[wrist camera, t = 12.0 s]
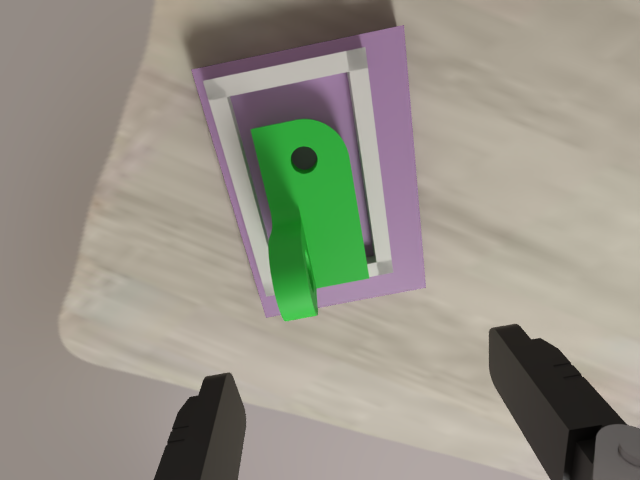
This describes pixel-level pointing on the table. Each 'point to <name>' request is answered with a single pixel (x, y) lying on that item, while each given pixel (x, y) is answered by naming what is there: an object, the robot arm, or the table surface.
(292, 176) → the mechanical part
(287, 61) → the door panel
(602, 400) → the robot arm
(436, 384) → the table surface
